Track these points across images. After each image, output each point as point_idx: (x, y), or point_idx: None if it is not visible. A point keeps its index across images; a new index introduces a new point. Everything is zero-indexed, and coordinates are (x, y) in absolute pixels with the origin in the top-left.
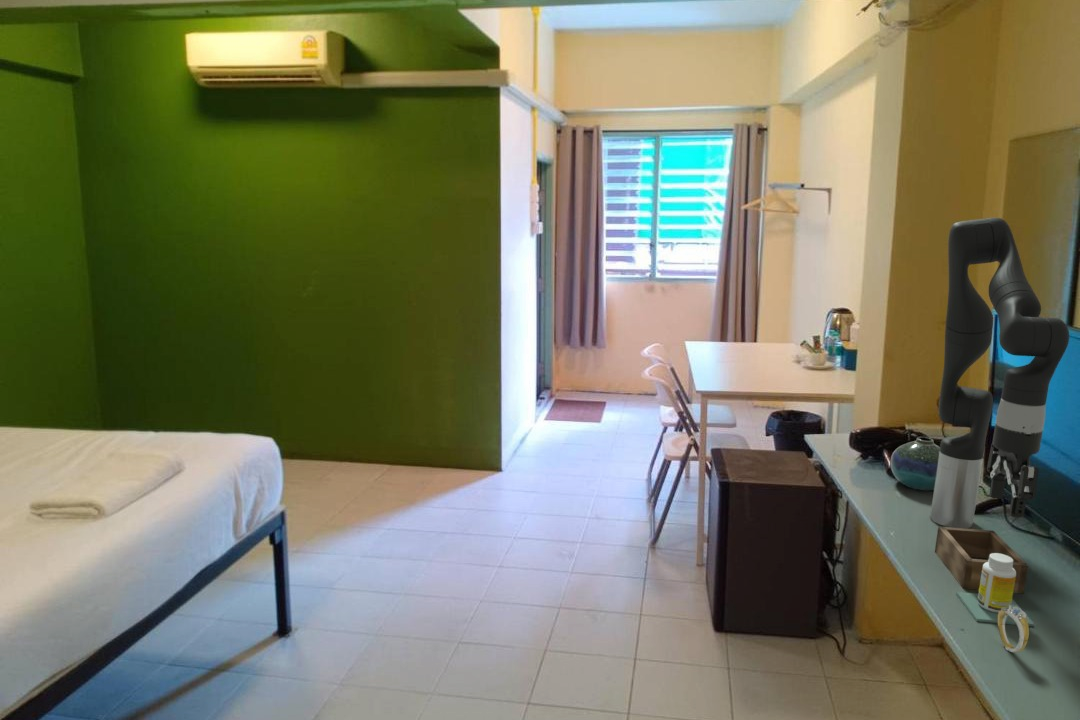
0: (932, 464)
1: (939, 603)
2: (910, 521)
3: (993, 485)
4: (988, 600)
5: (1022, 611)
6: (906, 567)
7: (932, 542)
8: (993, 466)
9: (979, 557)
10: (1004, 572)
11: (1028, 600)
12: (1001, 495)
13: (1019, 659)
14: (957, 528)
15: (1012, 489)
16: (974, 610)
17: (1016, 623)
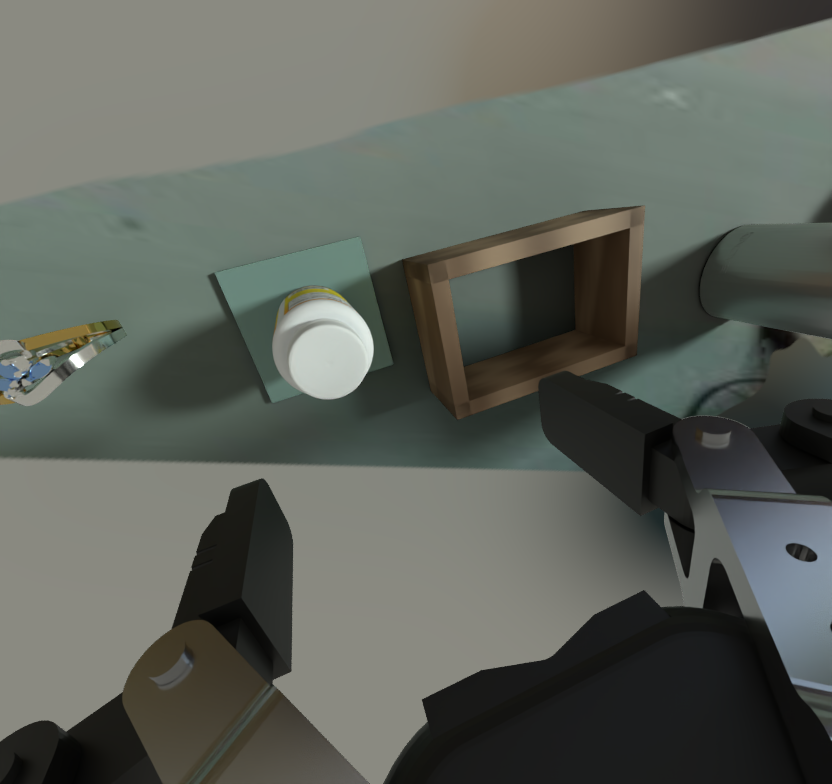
0: None
1: (274, 177)
2: (734, 168)
3: (603, 417)
4: (279, 309)
5: (38, 397)
6: (474, 105)
7: None
8: (818, 521)
9: (575, 316)
10: (284, 364)
11: (402, 397)
12: (554, 438)
13: None
14: (638, 263)
15: (226, 680)
16: (266, 272)
17: None
